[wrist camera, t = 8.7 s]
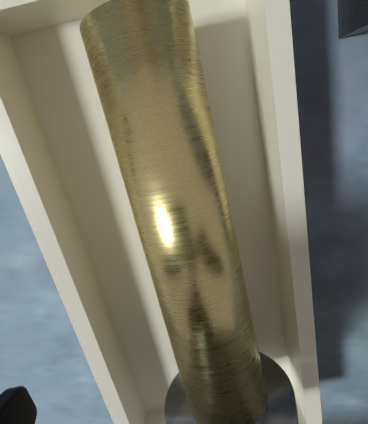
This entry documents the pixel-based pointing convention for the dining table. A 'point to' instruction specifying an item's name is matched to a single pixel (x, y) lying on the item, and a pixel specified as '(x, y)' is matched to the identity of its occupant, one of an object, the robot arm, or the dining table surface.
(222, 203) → the pin
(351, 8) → the block
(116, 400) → the tray
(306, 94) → the dining table surface
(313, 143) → the dining table surface
